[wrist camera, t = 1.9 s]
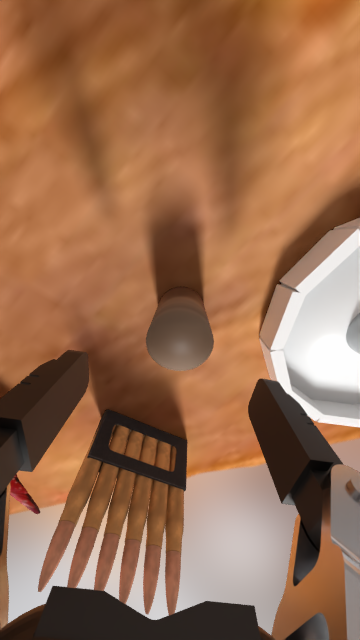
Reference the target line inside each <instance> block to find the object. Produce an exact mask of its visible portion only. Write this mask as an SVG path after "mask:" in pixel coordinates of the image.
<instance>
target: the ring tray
mask: <svg viewBox="0 0 360 640" xmlns="http://www.w3.org/2000/svg"><path fill="white" fill-rule="evenodd" d="M279 282H281V285H280V284H277V285H276V288H275V291H274V294H273V297H272V300H271V302H270V305H269V308H268V311H267V314H266V317H265V320H264V322H263V325H262V328H261V331H260V334H259V336H260V338H259V340H260V343H261V347H262V351H263V354H264V358H265V362H266V366H267V369H268V373H269V377H270V378H271V380H274V381H278V382H279V383H280V385H281V386H282V387H283V389H284V390H285V392H286V393H287V394H289V395H290V396H292V397H293V398H294V399H295V400H296V401H297V402H298V403H299V404H300V405H301V406H302V408H303V409H304V410H305V412H306V413H307V415H308V416H309V417H310V418H312V419H313V420H314V421H316V420H317V422H322V423H330V424H338V425H346V426H354V427H360V218H357V219H355V220H352V221H350V222H347V223H344V224H342V225H339V226H337V227H334V230H330V231H328V232H327V233H326V234H325V235H324V236H323V237H322V238H321V239H320V240H319V241H318V242H317V243H316V244H315V245H314V246H313V247H312V248H311V249H310V250H309V251H308V252H307V253H306V254H305V255H304V256H303V257H302V258H301V259H300V260H299V261H298V262H297V263H296V264H295V265H294V266H293V267H292V268H291V269H290V270H289V271H288V272H287V273H286V274H285V275H284V276H283V277H282V278H281V279H280V280H279Z"/></svg>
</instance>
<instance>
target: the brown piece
mask: <svg viewBox="0 0 360 640" xmlns="http://www.w3.org/2000/svg"><path fill="white" fill-rule="evenodd" d="M213 343H214V340H213V334H212V331H211V328H210V324H209V321H208V318H207V314H206V311H205V307H204V304H203V301H202V299H201V297H200V296H199V294H198V293H196V292H195V291H194V290H192V289H190V288H186V287H176V288H173V289H170V290H169V291H167V292H166V293H165V294H164V295H163V296H162V298H161V300H160V302H159V305H158V307H157V310H156V312H155V315H154V317H153V320H152V322H151V325H150V327H149V330H148V333H147V337H146V345H147V349H148V352H149V354H150V355H151V357H152V358H153V359H154V360H155V361H156V362H157V363H158V364H159V365H161V366H163V367H165V368H167V369H170V370H175V371H185V370H190V369H193V368H196V367H198V366H200V365H201V364H202V363H204V362H205V361H206V360H207V359H208V357H209V356H210V354H211V352H212V349H213Z"/></svg>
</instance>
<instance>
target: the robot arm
mask: <svg viewBox="0 0 360 640" xmlns="http://www.w3.org/2000/svg"><path fill="white" fill-rule="evenodd" d="M88 382H89V368H88V354H87V353H86V352H80V351H74V350H68V351H66V352H65V353H64V354H63V355H62V356H61V357H59V358H58V359H57V360H55V359H53V360H51V361H48V362H46V363H44V364H42V365H40V366H39V367H38V368H36V369H35V370H34V371H33V372H32V373H30V375H29V376H27V377H26V378H25V379H23V380H22V381H21V383H20V384H17V385H16V386H15V387H14V388H13V389H11V390H10V391H9V392H8V393H7V394H6V395H4V396H3V397H2V398H1V399H0V640H360V472H358V471H357V470H355V469H353V468H351V467H349V466H346V465H343V463H342V462H341V461H340V459H339V458H338V456H337V455H336V453H335V452H334V451H333V449H332V448H331V446H330V445H329V444H328V442H327V441H326V440H325V438H324V437H323V435H322V434H321V433H320V431H319V430H318V428H317V427H316V426H314V423H313V422H312V420H311V419H310V417H309V416H307V413H306V412H305V410H304V409H303V408H302V406H301V405H300V404H299V403H298V402H297V401H296V400H295V399H294V398H293V397H292V396H290V395H289V394H287V393H286V392H285V390H284V389H283V387H282V386H281V385H280V383H279V382H278V381H274V380H267V379H259V380H258V382H257V384H256V387H255V389H254V392H253V394H252V397H251V399H250V402H249V406H248V413H249V418H250V420H251V423H252V426H253V428H254V431H255V434H256V436H257V439H258V442H259V444H260V447H261V450H262V452H263V455H264V458H265V460H266V463H267V465H268V468H269V471H270V474H271V476H272V479H273V481H274V484H275V487H276V490H277V492H278V495H279V498H280V500H281V503H282V504H288V505H295V506H296V508H297V510H298V513H299V514H298V516H297V517H296V520H295V527H294V533H293V540H292V547H291V554H290V560H289V567H288V574H287V581H286V586H285V590H284V594H283V597H282V599H281V602H280V604H279V607H278V609H277V613H276V616H275V620H274V624H273V629H272V635H270V634H268V633H267V632H266V631H265V630H263V629H262V628H261V627H259V626H258V623H257V618H256V612H255V607H254V606H251V605H241V604H230V603H221V602H210V601H205V602H203V603H200V604H198V605H195V606H192V607H190V608H188V609H185V610H182V611H180V612H177V613H174V614H172V615H169V616H167V617H164V618H162V619H159V620H151V619H149V618H147V617H145V616H143V615H142V614H140V613H139V612H137V611H135V610H134V609H132V608H131V607H129V606H127V605H126V604H124V603H123V602H121V601H119V600H118V599H116V598H115V597H113V596H111V595H110V594H108V593H106V592H105V591H100V590H90V589H79V588H69V587H59V586H53V587H52V589H51V592H50V595H49V597H48V600H47V602H46V604H44V605H41V606H38V607H36V608H34V609H32V610H30V611H28V612H26V613H24V614H22V615H21V616H19V617H18V618H16V619H14V620H13V621H11V622H10V623H8V604H9V585H8V574H7V540H8V522H9V506H10V489H11V485H10V482H11V480H12V479H13V478H14V476H15V475H16V473H17V472H18V471H19V470H20V471H29V472H32V471H33V470H34V468H35V467H36V465H37V464H38V463H39V461H40V460H41V458H42V457H43V455H44V454H45V452H46V451H47V449H48V448H49V446H50V445H51V443H52V442H53V440H54V439H55V437H56V436H57V434H58V433H59V431H60V430H61V428H62V427H63V425H64V424H65V422H66V421H67V419H68V418H69V416H70V415H71V413H72V412H73V410H74V409H75V407H76V406H77V404H78V403H79V401H80V400H81V398H82V397H83V395H84V394H85V392H86V389H87V387H88Z"/></svg>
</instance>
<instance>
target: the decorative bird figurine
mask: <svg viewBox="0 0 360 640" xmlns="http://www.w3.org/2000/svg"><path fill="white" fill-rule="evenodd" d="M10 485H11V489H10V495H11V496H13V497H14V498H15V499H16V500H18V501H19V502H21V504H23V505H25V506H26V507H27V508H28V509H29V510H31V511H33V512H34V513H36V514H39V513H40V510H39V508H38V506H37V505H36V503H35V502H34V500H33V499H32V497H31V496H30V495H29V494H28V492H27V491H26V489H25V488H24V486H23V485H22V484H21V482H19V479H18V477H17V474H16V475H15V476H14V478H13V479H12V480H11V482H10Z"/></svg>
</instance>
